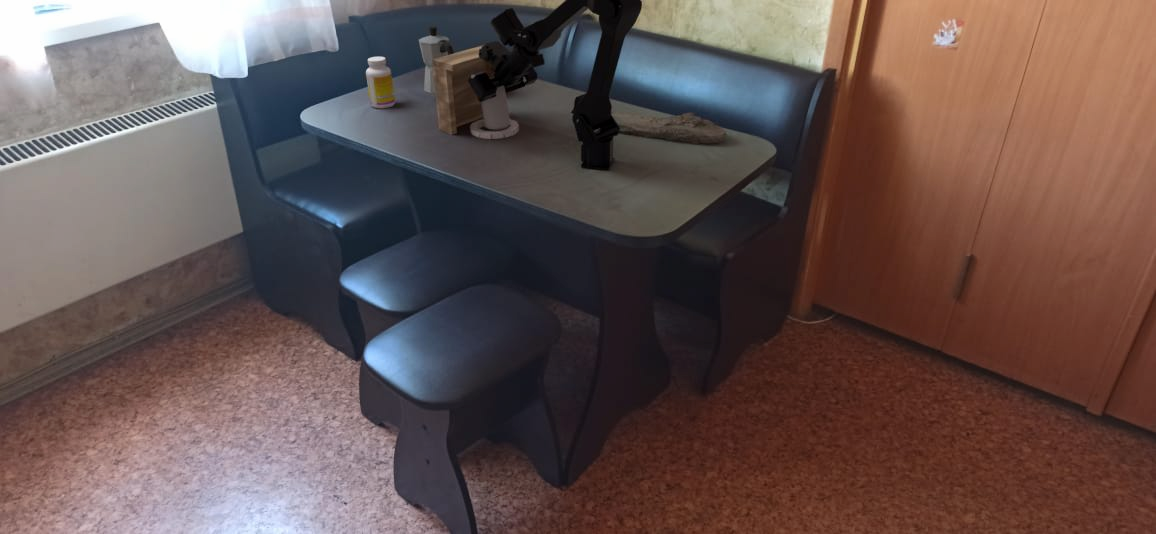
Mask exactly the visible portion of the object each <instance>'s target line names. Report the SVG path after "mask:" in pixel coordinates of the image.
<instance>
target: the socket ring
mask: <svg viewBox="0 0 1156 534" xmlns="http://www.w3.org/2000/svg"><path fill="white" fill-rule="evenodd" d="M483 127H485V123H484V118H480V119H477V120H475V121H473V122H472V123H471V124H470V125H469V128H470V129H469V131H470V133H471V135H472V136H474V137H476V138H480V139H487V140H491V139H492V140H498V139H504V138H505V139H506V138H508V137H512V136H514V135H516V134H517V133H518V132H519V130H520V125H519V123H518V121H517V120H514V119H511V118H510V124H509V125H508V127H507V128H505V129H502V130H484V129H482V128H483Z"/></svg>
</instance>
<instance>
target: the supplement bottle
mask: <svg viewBox="0 0 1156 534" xmlns="http://www.w3.org/2000/svg"><path fill="white" fill-rule="evenodd" d="M367 64H368V66H369V67H368V68H367V69H366V71H365V76H366V81H367V82H366V83H367V88H368V89H367V90H368V97H369V103H370V106H371V107H372V108H374V107H375V109H387V108H390V107H393V106H394V105H395V103H396V99H395V98H396V97H395V93H394V92H395V91H394V86H393V85H394V84H393V77H392V76H393V75H392V70H391V68H390V67H389V66H386V64H387V59H386V57H384V56H372V57H369V58H368V59H367Z"/></svg>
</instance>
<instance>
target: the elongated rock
mask: <svg viewBox="0 0 1156 534" xmlns="http://www.w3.org/2000/svg"><path fill="white" fill-rule="evenodd" d="M611 115H612V116H613V118H614V119H615V121H616V122H617V124H618V126H619V127H620V130H619V133H621V134H624V135H626V134H630V135H633V136H637V137H644V138H651V139H652V138H654V139H657V138H658V139H665V140H668V141H673V142H684V143H689V144H695V145H699V144H715V143H717V144H718V143H719V144H720V143H723V141H724V140H725V139H726V137H727V131H726V130H725V129H724V128H722V127H720V126H719V124H715V122H712V121H711V120H709V119H704V118H701V117H700V116H697V115H695V114H694V112H687V113H683V114H681V115H680V114H678V115H677V116H674V115H671V116H668V117H653V116H647V115H641V114H640V115H635V114H628V113H623V112H613V111H611Z"/></svg>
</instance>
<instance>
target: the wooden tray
mask: <svg viewBox="0 0 1156 534" xmlns="http://www.w3.org/2000/svg"><path fill="white" fill-rule="evenodd" d="M484 45H485V44H483V45H479V46H476V47H473V48H469V49H468V48H467V49H465V50H462V51H458V52H454V54H450V55H447V56H443V57H440V58H436V59H433V60H432V64H433V74H434V83H435V93H436V94H435V101H436V111H437V119H438V120H437V123H438V130H439V131H441V132H443V133H447V134H449V135H455V134H457V132H458V130H457V128H458V127H460V126H464V125H466V124H469V123H471V122H472V123H473V122H476V121H478V120H481V119H484V117H483V111H482V105H481V102H479V101H478V96H477V95H476V93H475V92H474V90H473V89H472V87H471V85H470V84H469V82H468V79H469V77H470V76H471V75H472V74H475V73H478V72H481V71H483V72H486V73H487V75H488V76H489V78H495V77H494V74H495V72H493V71H492V69H491V66H492V64H490V63H489V62H488V61H487V62H484V61H483V60H482V59H481V58H480V57H479V49H481V48H482V46H484Z"/></svg>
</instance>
